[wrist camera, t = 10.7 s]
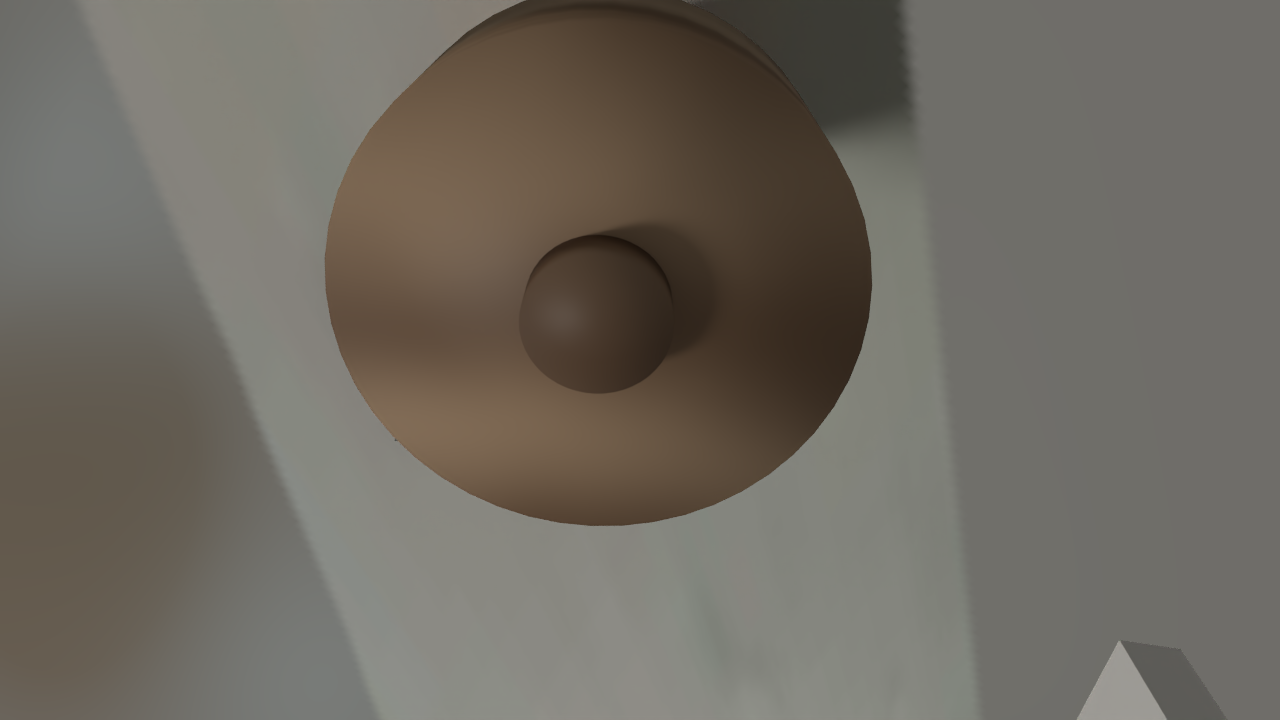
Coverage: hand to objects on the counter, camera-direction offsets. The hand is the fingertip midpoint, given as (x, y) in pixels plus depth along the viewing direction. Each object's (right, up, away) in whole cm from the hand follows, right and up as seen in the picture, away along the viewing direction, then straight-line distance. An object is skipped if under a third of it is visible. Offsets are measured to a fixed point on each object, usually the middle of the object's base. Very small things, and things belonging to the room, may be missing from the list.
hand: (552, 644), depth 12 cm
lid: (0, +7, +13) cm, 15 cm away
